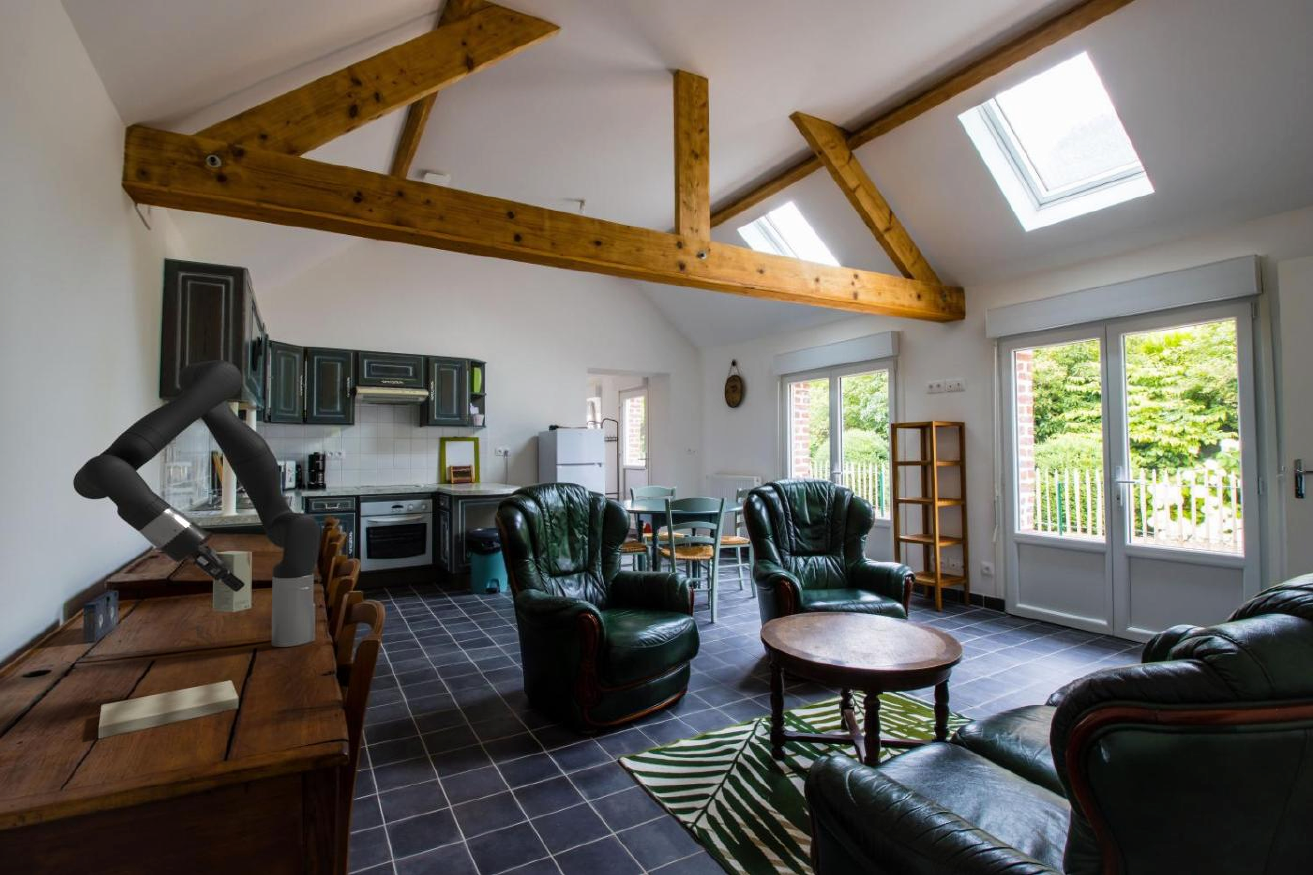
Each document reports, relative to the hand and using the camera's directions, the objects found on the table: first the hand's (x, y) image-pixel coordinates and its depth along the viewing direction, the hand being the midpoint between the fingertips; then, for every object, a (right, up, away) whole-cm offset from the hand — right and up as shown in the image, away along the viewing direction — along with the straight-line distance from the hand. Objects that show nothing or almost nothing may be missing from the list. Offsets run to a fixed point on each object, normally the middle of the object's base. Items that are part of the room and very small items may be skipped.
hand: (240, 585), depth 134 cm
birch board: (-3, -20, -16) cm, 26 cm away
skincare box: (-1, -5, -1) cm, 6 cm away
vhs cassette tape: (-60, -22, +34) cm, 73 cm away
